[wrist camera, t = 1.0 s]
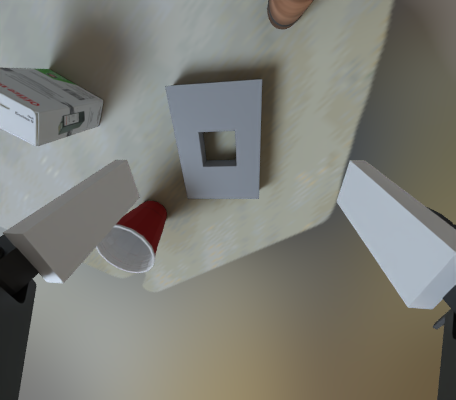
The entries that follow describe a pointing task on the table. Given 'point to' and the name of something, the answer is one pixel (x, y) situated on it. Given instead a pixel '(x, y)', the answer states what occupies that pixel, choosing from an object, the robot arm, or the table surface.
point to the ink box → (45, 105)
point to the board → (218, 121)
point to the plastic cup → (135, 238)
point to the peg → (286, 12)
